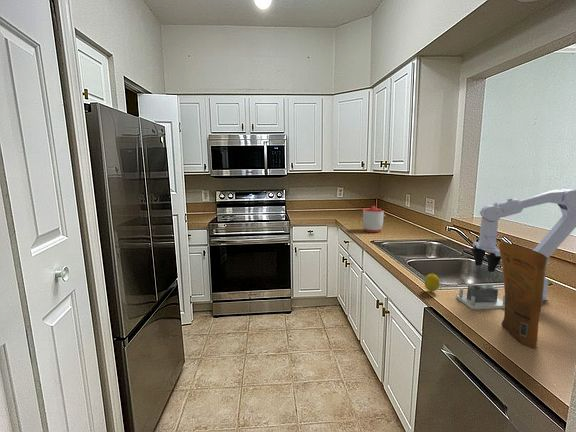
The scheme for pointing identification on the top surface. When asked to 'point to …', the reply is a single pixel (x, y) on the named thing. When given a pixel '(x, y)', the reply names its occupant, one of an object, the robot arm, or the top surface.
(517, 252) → the pancake mix bag
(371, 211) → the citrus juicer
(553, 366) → the top surface
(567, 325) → the top surface
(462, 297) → the tray
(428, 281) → the lemon
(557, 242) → the robot arm
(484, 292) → the block
